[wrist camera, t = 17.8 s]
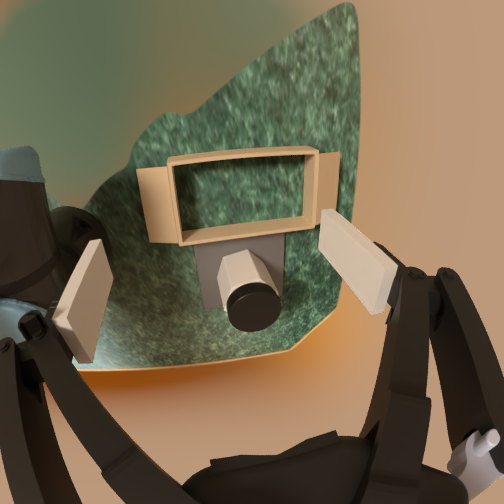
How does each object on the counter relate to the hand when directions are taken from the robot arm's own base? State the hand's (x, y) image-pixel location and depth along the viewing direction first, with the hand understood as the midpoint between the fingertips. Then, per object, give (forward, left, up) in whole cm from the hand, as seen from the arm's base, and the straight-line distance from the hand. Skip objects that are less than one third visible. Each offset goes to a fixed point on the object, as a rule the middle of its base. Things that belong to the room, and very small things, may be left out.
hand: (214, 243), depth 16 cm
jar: (+6, -22, -28) cm, 36 cm away
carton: (+7, -7, -29) cm, 30 cm away
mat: (+6, -22, -29) cm, 36 cm away
